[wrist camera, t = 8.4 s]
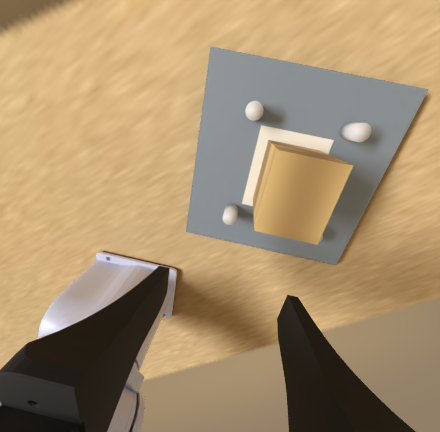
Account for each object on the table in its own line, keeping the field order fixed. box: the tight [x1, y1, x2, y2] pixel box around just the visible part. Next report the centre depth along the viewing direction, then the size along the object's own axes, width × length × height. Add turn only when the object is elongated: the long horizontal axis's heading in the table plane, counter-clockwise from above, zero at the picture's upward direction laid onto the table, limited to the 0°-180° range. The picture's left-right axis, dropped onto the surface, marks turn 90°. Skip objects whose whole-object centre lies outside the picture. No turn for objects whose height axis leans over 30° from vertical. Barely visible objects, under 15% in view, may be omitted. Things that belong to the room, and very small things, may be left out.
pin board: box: [186, 47, 428, 265], centre depth 17 cm, size 15×15×3 cm
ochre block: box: [253, 140, 353, 245], centre depth 15 cm, size 4×5×6 cm
